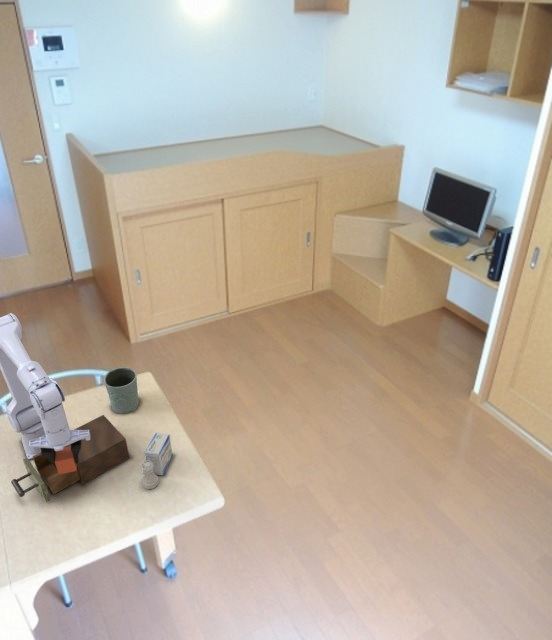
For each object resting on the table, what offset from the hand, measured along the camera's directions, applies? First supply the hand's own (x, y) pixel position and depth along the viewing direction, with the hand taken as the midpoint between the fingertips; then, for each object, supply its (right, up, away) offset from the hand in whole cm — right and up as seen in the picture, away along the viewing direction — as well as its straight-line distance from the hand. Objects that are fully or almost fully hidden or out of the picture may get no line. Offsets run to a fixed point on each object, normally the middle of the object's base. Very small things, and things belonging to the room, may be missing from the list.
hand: (66, 462), depth 140 cm
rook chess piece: (+21, -8, +7) cm, 23 cm away
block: (0, -1, +1) cm, 1 cm away
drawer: (-7, -7, +7) cm, 12 cm away
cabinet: (+3, -3, +15) cm, 15 cm away
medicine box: (+22, -4, +13) cm, 26 cm away
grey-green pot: (+6, +10, +34) cm, 36 cm away
